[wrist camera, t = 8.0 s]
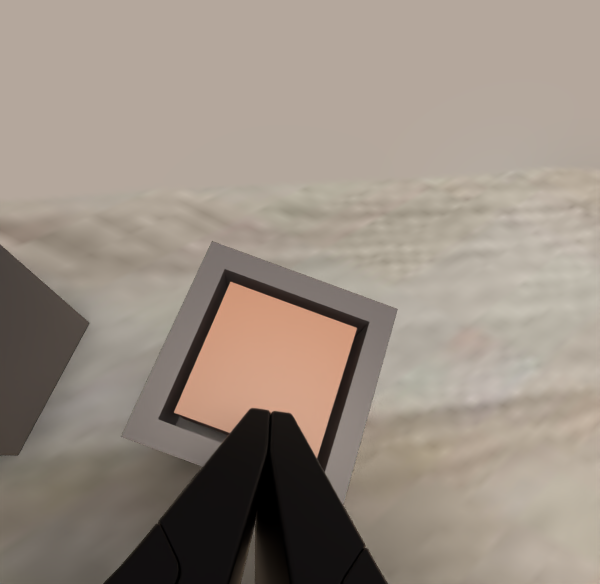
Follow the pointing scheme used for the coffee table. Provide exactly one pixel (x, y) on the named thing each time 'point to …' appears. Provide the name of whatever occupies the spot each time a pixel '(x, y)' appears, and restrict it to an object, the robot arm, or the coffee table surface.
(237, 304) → the terracotta button
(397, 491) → the coffee table surface
